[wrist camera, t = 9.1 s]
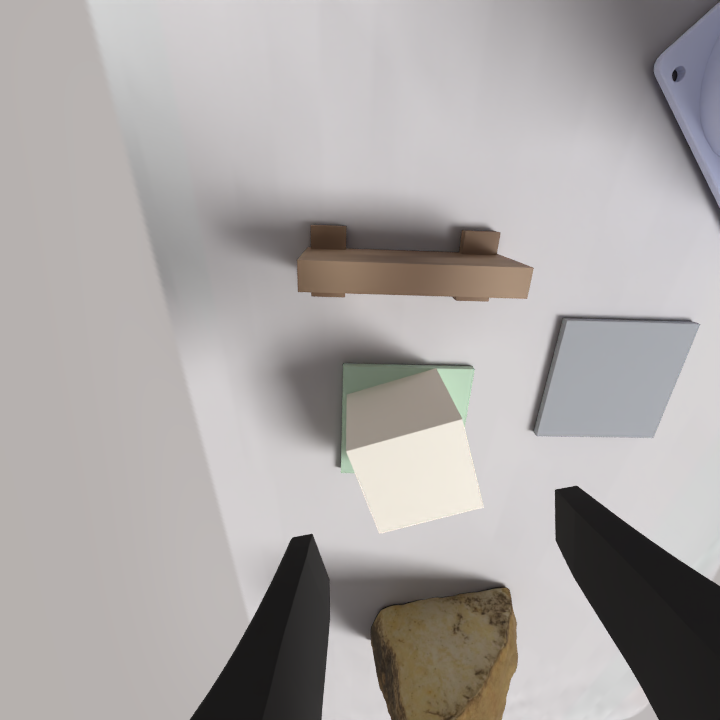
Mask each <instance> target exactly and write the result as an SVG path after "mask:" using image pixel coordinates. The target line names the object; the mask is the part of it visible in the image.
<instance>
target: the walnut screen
mask: <svg viewBox="0 0 720 720" xmlns="http://www.w3.org/2000/svg"><path fill="white" fill-rule="evenodd" d="M499 238H500V232H496V231H470V230H462V234H461V241H460V249H459V252H437V251H408V250H379V249H350V248H346V226H334V225H311V247H307V249H306V250H305V251H304V252H303V253H302V255H301V256H300V257H299V258H298V260H297V276H298V292H311V295H312V296H318V297H345V293H352V294H386V295H419V296H453V298H454V299H455V300H456V301H489V298H520V299H527V297H528V292H529V287H530V283H531V278H532V273H533V269H534V268H533V267H530V266H527V265H525V264H522V263H520V262H517V261H514V260H512V259H509V258H506V257H504V256H501V255H499V254H497V249H498V244H499Z"/></svg>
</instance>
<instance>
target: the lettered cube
mask: <svg viewBox="0 0 720 720" xmlns="http://www.w3.org/2000/svg"><path fill="white" fill-rule="evenodd" d="M346 452H347V455H348V457H349V460H350V462H351V465H352V467H353V470H354V472H355V475H356V477H357V480H358V482H359V485H360V487H361V489H362V492H363V494H364V497H365V499H366V502H367V504H368V507H369V509H370V512H371V514H372V517H373V519H374V522H375V524H376V526H377V529H378V531H379V534H381V533H385V532H389V531H393V530H397V529H401V528H405V527H409V526H413V525H417V524H421V523H425V522H428V521H432V520H436V519H440V518H444V517H448V516H452V515H456V514H460V513H464V512H468V511H472V510H476V509H480V508H484V506H483V502H482V498H481V494H480V490H479V485H478V481H477V477H476V473H475V469H474V465H473V461H472V457H471V452H470V448H469V444H468V440H467V436H466V432H465V428H464V424H463V419H462V417H461V415H460V413H459V411H458V409H457V408H456V406H455V404H454V402H453V400H452V398H451V396H450V394H449V392H448V390H447V388H446V386H445V384H444V382H443V380H442V378H441V376H440V374H439V372H438V371H437V369H436V368H435V369H432V370H428V371H425V372H421V373H418V374H414V375H411V376H408V377H404V378H401V379H397V380H394V381H391V382H387V383H384V384H380V385H377V386H374V387H370V388H367V389H363V390H360V391H357V392H353V393H350V394H347V410H346Z"/></svg>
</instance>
